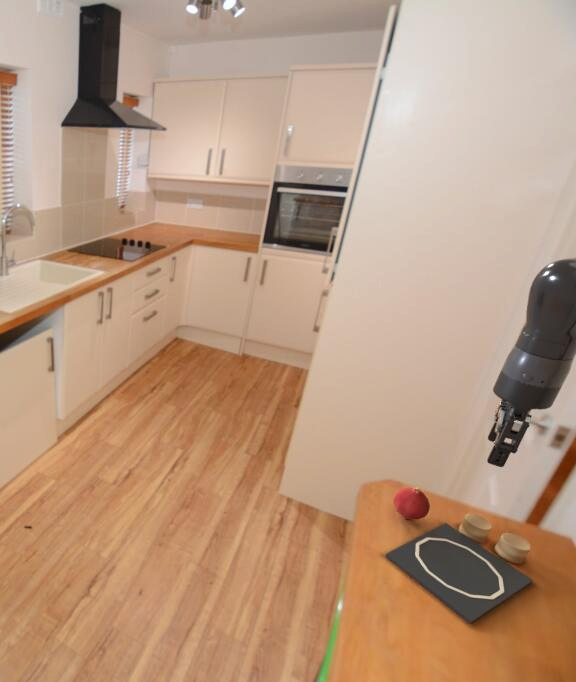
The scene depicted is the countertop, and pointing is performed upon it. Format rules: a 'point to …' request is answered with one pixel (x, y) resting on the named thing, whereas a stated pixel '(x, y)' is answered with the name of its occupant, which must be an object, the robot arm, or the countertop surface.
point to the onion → (411, 503)
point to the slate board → (459, 571)
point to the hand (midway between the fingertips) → (494, 452)
